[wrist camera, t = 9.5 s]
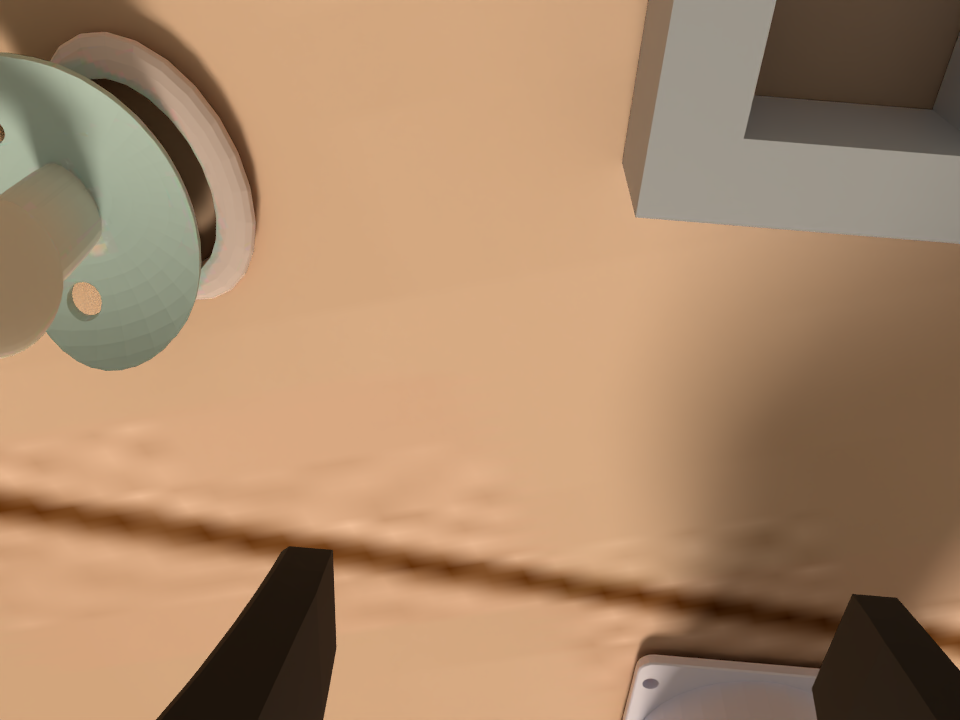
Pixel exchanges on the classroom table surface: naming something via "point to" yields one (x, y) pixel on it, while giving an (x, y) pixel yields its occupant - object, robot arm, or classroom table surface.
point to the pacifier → (109, 203)
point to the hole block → (779, 138)
